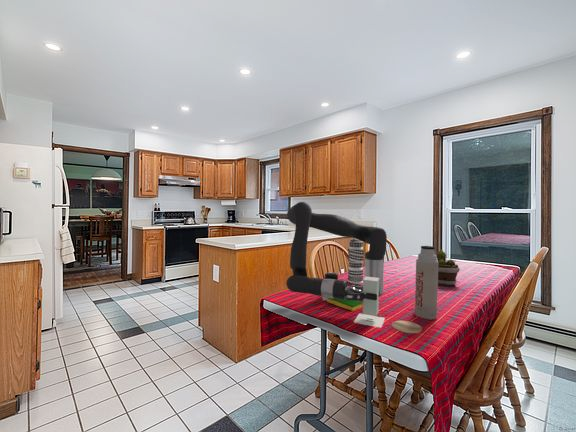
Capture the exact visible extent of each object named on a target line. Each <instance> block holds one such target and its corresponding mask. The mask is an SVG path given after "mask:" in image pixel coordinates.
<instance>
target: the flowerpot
mask: <svg viewBox="0 0 576 432" xmlns="http://www.w3.org/2000/svg"><path fill="white" fill-rule="evenodd" d="M435 255H436V256H437V261H438V286H443V287H453V286H455V285H456V284H457V277H458V273H459V272H460V267H459V265H458V264H456V261H455V259H452V257H451V258H449V259H448V255H447V253H446V252H445V251H444V250H443V249H440V250H438V251H437V252H436V254H435Z"/></svg>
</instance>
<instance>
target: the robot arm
mask: <svg viewBox="0 0 576 432" xmlns="http://www.w3.org/2000/svg"><path fill="white" fill-rule="evenodd" d="M286 217H287V219H288V221H289V222H290V223H291V224H293V225H295V229H294V236H293V239H292V242H291V247H290V255H289V256H290V257H289V260H290V261H289V266H290V269H291V270H292V275H290V276H289V277H288V278H287V280H286V284H285V285H286V287H287V289H288V290H289V291H290V292H292V293H301V294H309V295H313V296H318V297H323V296H324V297H327V298H333V299H339V300H345V299H346V298H347V300H357V301H360V302H363V301H364V300H366V299H370V300H377V294H373V293H367V294H366V292H363V284H354V285H349V282H348V280H342V279H338V280H335V279H325V278H322V277H321V278H320V277H309V276H308V271H307V249H308V236H309V231H310V228H313V229H317V230H318V231H322V232H326V233H329V234H332V235H335V236H339V237H345V238H351V239H352V238H355V239H358V240H361V241H363V243H365V244H367V245H369V250H367V251H366V252H364V275H363V279H364V278H365V277H366V276H367V277H375V278H379V296H380V295H383V294H384V275H385V274H384V269H385V265H384V264H385V255H386V252H387V242H388V241H387V240H388V239H387V238H388V235H387V232H386V230H385V229H384V228H382V227H377V226H369V225H362V224H358V223H355V222H354V221H353V220H351V219H348V217H347V218H346V217H345V216H340V215H337V214H332V213H315V212H313V211H312V208H311V206H310V204H309V203H307V202H305V201H299V202H297V203H296V204H294V205H292V206H291V207H290V208H289V209H288V211H287V213H286Z"/></svg>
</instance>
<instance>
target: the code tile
mask: <svg viewBox="0 0 576 432" xmlns="http://www.w3.org/2000/svg"><path fill="white" fill-rule="evenodd" d="M385 321H386V317H382V316H378V315H377V316H372V315H366V314H363V313H360V312H359V313H358V315H357V316H356V318H355V319H354V320H353V323H355V324H360V325H365V326H370V327H374V328H375V327H376V328H382V327H383V325H384V322H385Z"/></svg>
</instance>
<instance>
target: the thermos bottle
mask: <svg viewBox="0 0 576 432" xmlns="http://www.w3.org/2000/svg"><path fill="white" fill-rule="evenodd" d="M435 249H436V248H435V246H431V245H421V246H420V252H419V253H418V254H417V259H416V260H415V290H414V292H415V294H414V315H415V316H417V317H418V318H422V319H427V320H432V319H433V320H436V319H437V316H438V294H439V291H438V288H439V285H438V261H437V255H436V254H435Z"/></svg>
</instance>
